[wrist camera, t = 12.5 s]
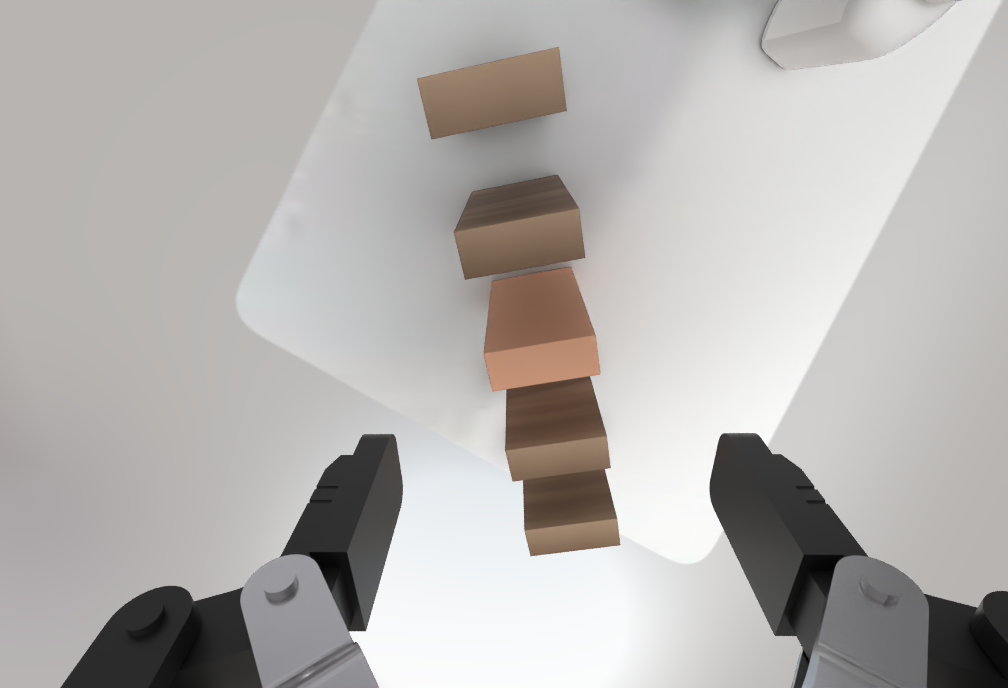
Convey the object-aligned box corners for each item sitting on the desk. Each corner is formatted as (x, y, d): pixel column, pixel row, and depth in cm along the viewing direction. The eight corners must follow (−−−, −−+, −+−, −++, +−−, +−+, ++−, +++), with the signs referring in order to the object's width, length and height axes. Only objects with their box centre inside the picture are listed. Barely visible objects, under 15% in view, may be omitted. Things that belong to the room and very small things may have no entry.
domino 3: (491, 280, 31) (483, 353, 22) (570, 266, 30) (595, 335, 21) (498, 309, 32) (492, 391, 23) (575, 296, 31) (600, 374, 22)
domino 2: (471, 191, 28) (453, 232, 20) (557, 174, 28) (578, 208, 19) (479, 225, 29) (465, 279, 20) (562, 209, 29) (585, 257, 20)
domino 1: (449, 86, 26) (416, 78, 17) (542, 66, 26) (558, 46, 17) (458, 127, 27) (431, 139, 18) (548, 108, 27) (566, 110, 18)
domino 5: (521, 422, 36) (524, 530, 27) (590, 412, 35) (616, 518, 26) (526, 444, 36) (530, 555, 27) (593, 434, 36) (620, 545, 27)
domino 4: (507, 356, 33) (505, 450, 24) (580, 344, 33) (606, 436, 24) (512, 381, 34) (512, 481, 25) (584, 370, 34) (610, 468, 25)
